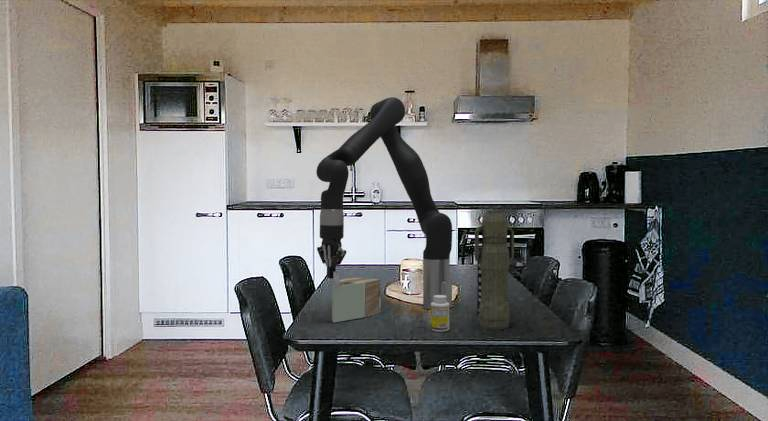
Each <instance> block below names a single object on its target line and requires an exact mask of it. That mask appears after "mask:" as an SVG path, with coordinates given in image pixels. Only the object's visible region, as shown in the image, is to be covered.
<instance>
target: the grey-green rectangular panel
mask: <svg viewBox="0 0 768 421" xmlns="http://www.w3.org/2000/svg"><path fill="white" fill-rule="evenodd" d="M332 279H333V285H332V286H331V316H332V317H331V322H332V323H339V322H345V321H350V320H351V321H352V320H355V319H364V317H365V283H364V282H363V283H355V284H347V285H339V280H340V271H337V270H336V271H335V272H333V278H332ZM365 318H366V317H365Z"/></svg>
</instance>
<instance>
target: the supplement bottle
mask: <svg viewBox="0 0 768 421" xmlns="http://www.w3.org/2000/svg"><path fill="white" fill-rule="evenodd" d="M433 301H434V302H432V303H431V309H430V328H431V330H432V331H433V332H436V333H437V332H438V333H446V332H449V330H450V329H451V328H450V326H451V325H450V323H451V322H450V320H451V319H450V318H451V315H450V305H449V303H448V302H447V296H445V295H435V296H433Z"/></svg>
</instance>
